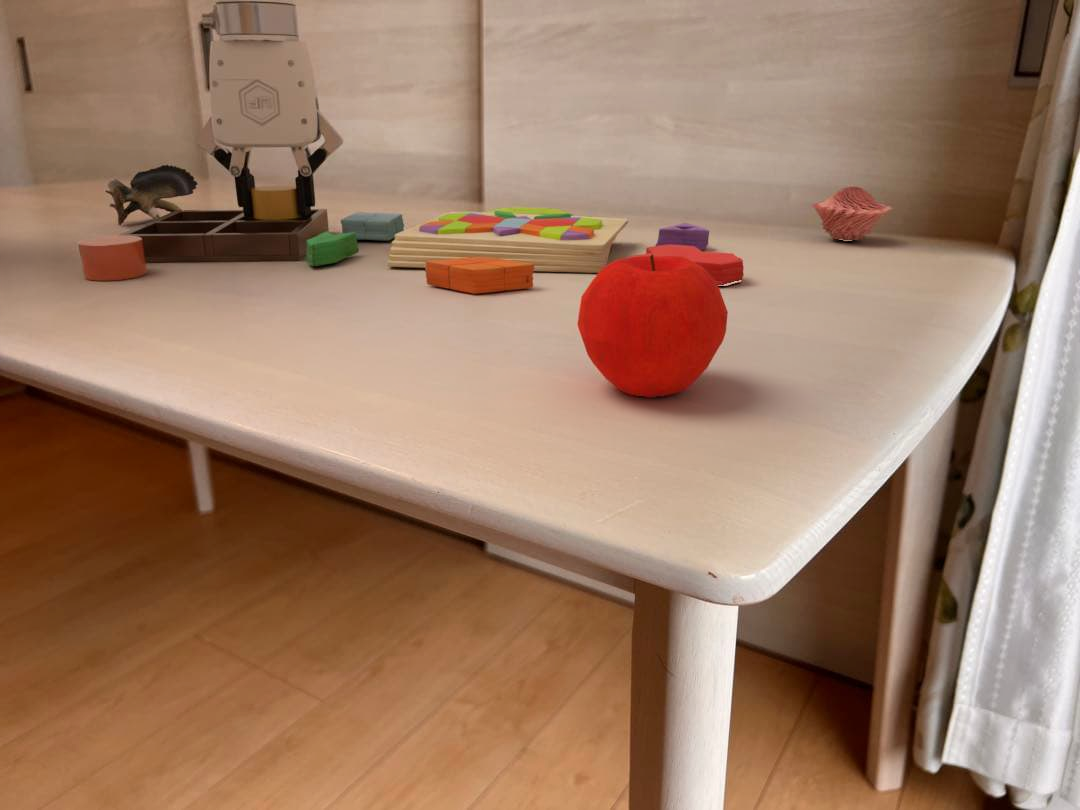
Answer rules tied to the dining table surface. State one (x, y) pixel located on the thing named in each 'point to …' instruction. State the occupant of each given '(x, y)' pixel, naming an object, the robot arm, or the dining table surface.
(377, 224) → the pattern blocks set
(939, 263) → the dining table surface
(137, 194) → the bracket fungus on branch
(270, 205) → the mustard yellow cylinder
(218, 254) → the grid
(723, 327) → the apple
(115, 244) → the cylinder
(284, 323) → the dining table surface
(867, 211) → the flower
